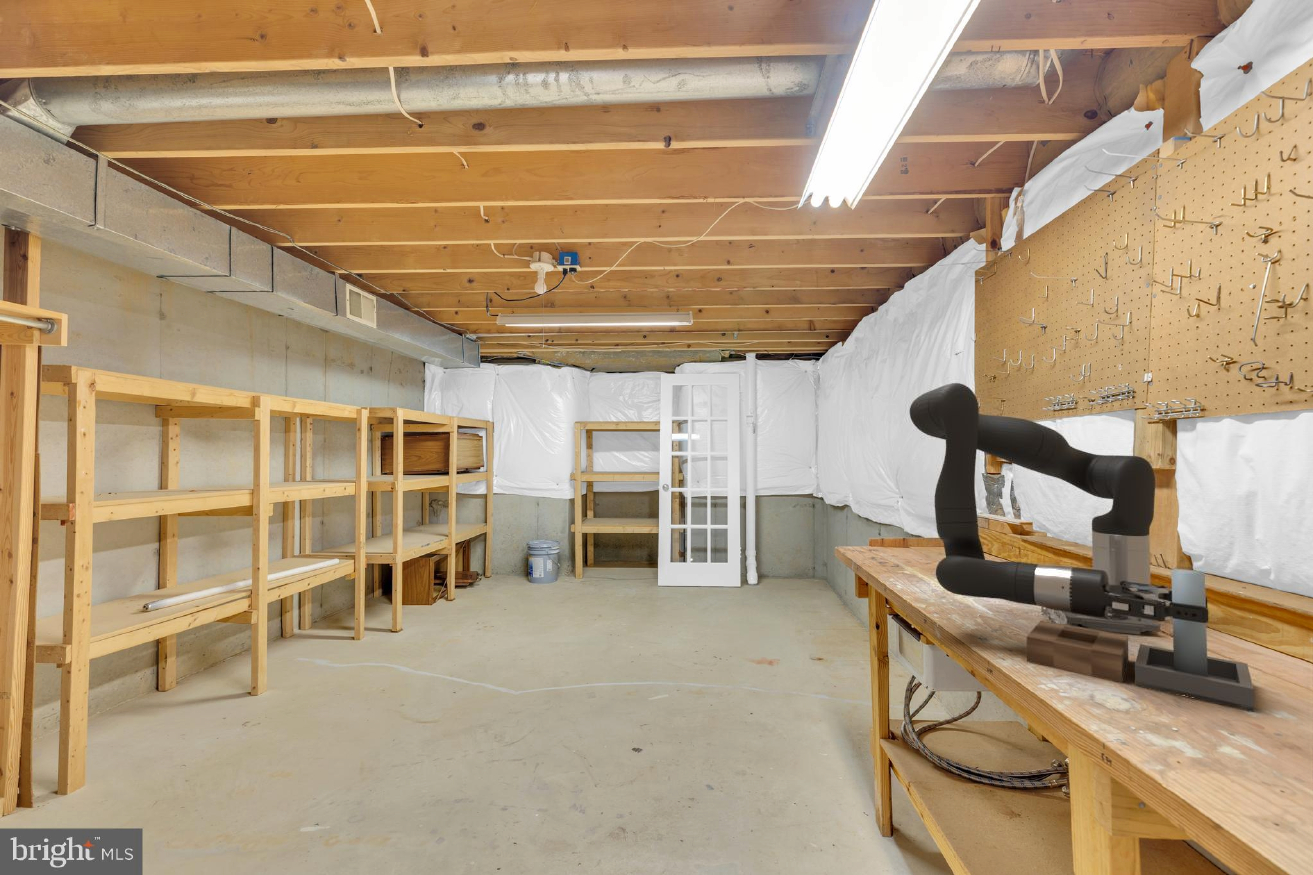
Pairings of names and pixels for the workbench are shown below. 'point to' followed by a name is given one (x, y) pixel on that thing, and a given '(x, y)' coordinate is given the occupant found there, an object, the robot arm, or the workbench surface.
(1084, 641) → the bore block
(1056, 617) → the graphics card
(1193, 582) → the dowel
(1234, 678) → the tray
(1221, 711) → the workbench surface
